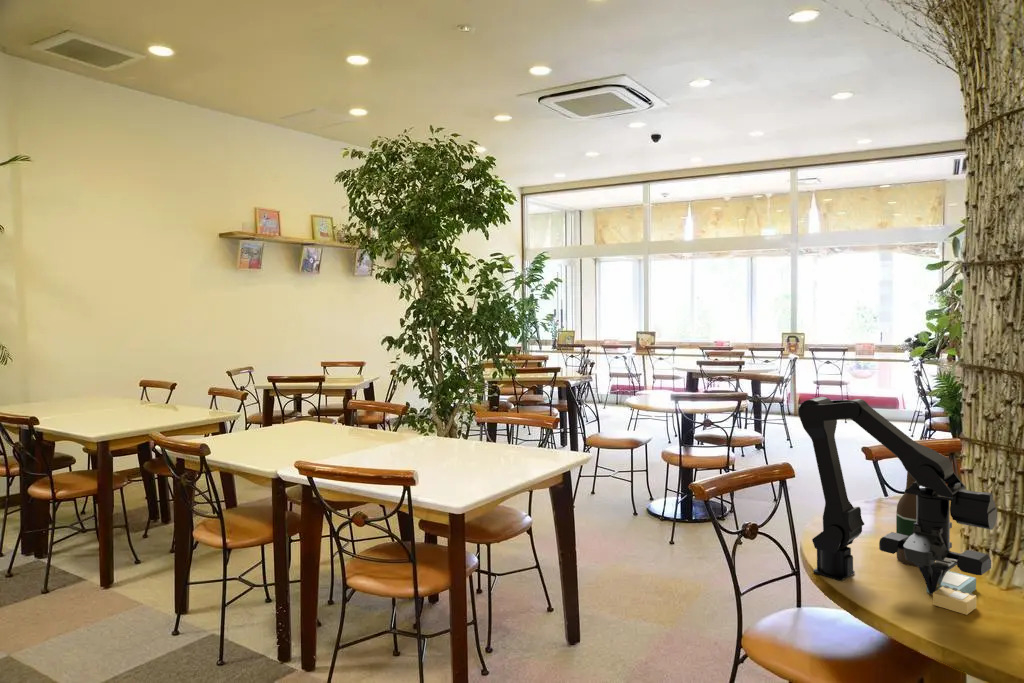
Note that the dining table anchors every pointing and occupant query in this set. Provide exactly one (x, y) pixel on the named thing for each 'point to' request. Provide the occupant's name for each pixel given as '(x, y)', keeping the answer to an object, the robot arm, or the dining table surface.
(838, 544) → the robot arm
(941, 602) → the stub
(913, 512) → the beer bottle
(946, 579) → the pale blue pin-sided card
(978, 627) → the dining table surface
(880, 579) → the dining table surface
